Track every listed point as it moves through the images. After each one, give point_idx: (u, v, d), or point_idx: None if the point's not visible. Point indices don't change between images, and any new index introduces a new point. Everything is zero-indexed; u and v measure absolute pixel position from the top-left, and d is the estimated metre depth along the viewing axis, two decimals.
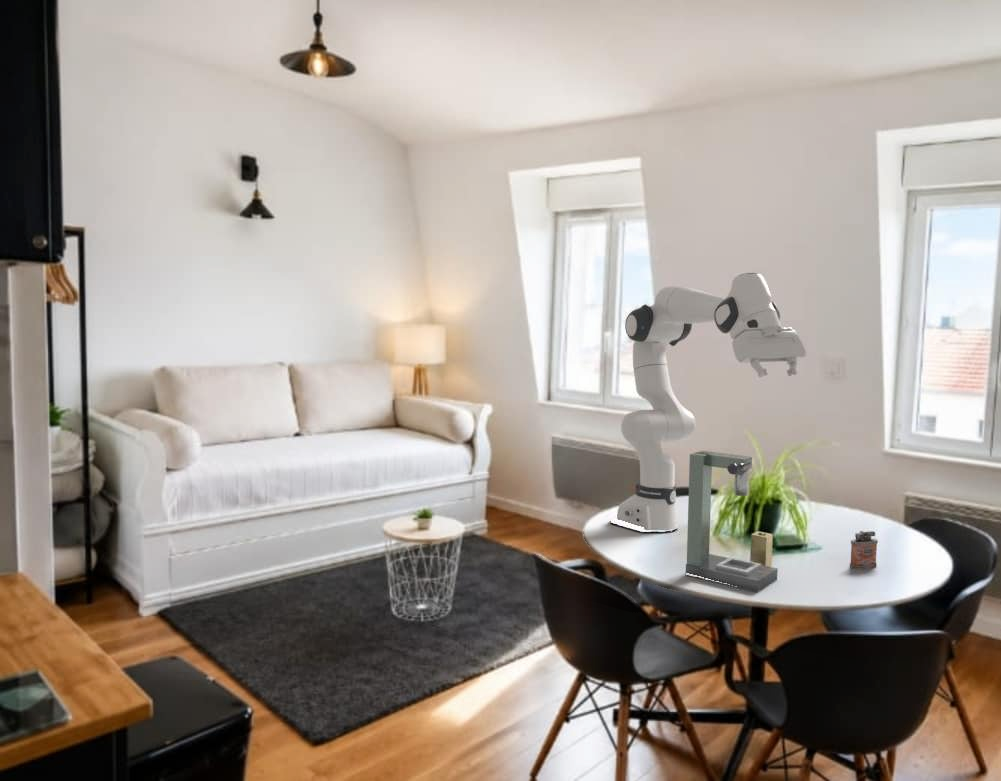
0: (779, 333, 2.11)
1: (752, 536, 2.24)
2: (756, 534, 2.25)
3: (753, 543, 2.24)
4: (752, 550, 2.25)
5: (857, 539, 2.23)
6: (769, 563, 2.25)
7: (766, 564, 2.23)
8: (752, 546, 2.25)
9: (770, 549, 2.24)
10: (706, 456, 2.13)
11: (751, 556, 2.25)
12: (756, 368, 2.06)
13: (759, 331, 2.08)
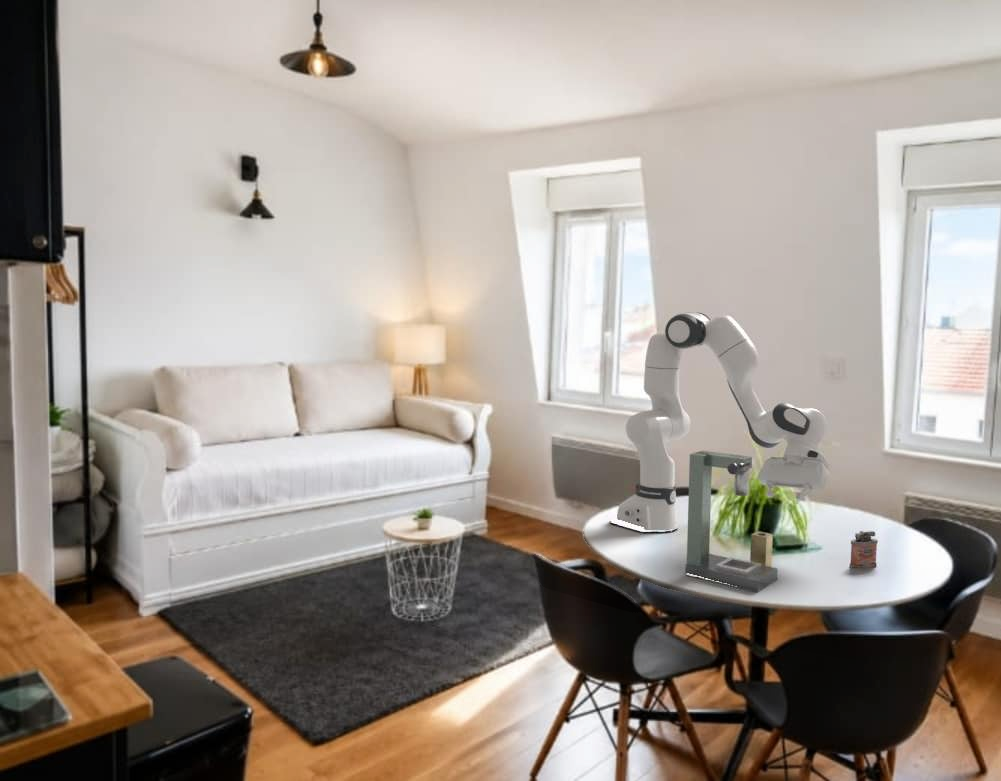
0: None
1: (752, 536, 2.24)
2: (756, 534, 2.25)
3: (753, 543, 2.24)
4: (752, 550, 2.25)
5: (857, 539, 2.23)
6: (769, 563, 2.25)
7: (766, 564, 2.23)
8: (752, 546, 2.25)
9: (770, 549, 2.24)
10: (706, 456, 2.13)
11: (751, 556, 2.25)
12: (805, 492, 2.28)
13: None
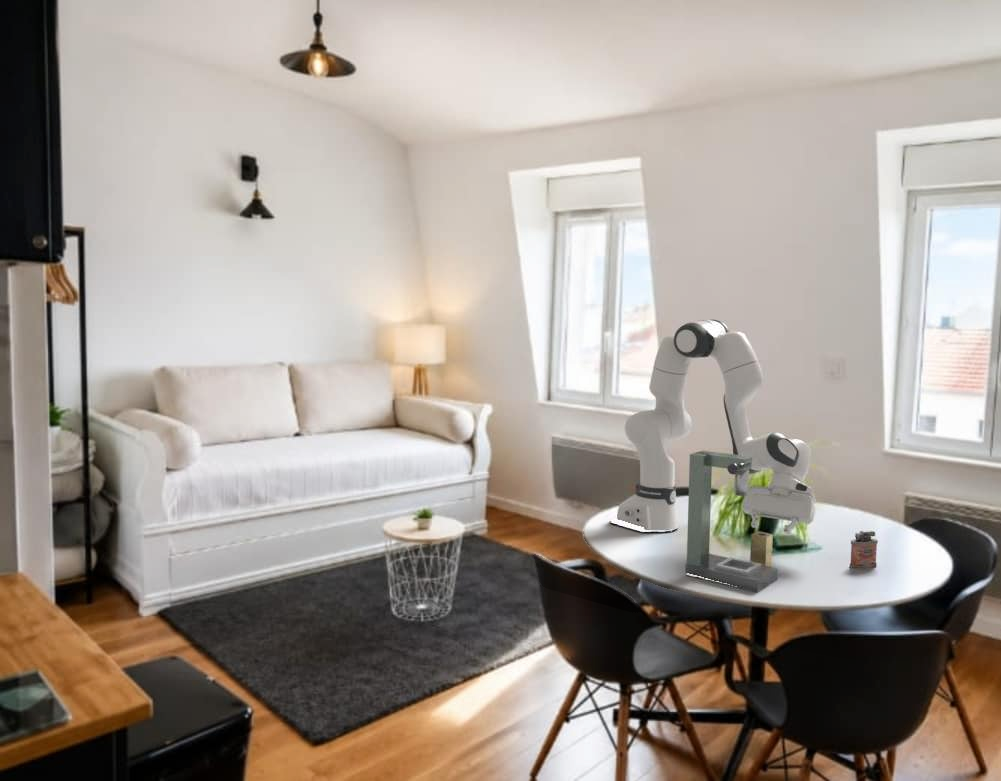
0: None
1: (752, 536, 2.24)
2: (756, 534, 2.25)
3: (753, 543, 2.24)
4: (752, 550, 2.25)
5: (857, 539, 2.23)
6: (769, 563, 2.25)
7: (766, 564, 2.23)
8: (752, 546, 2.25)
9: (770, 549, 2.24)
10: (706, 456, 2.13)
11: (751, 556, 2.25)
12: (792, 525, 2.26)
13: None
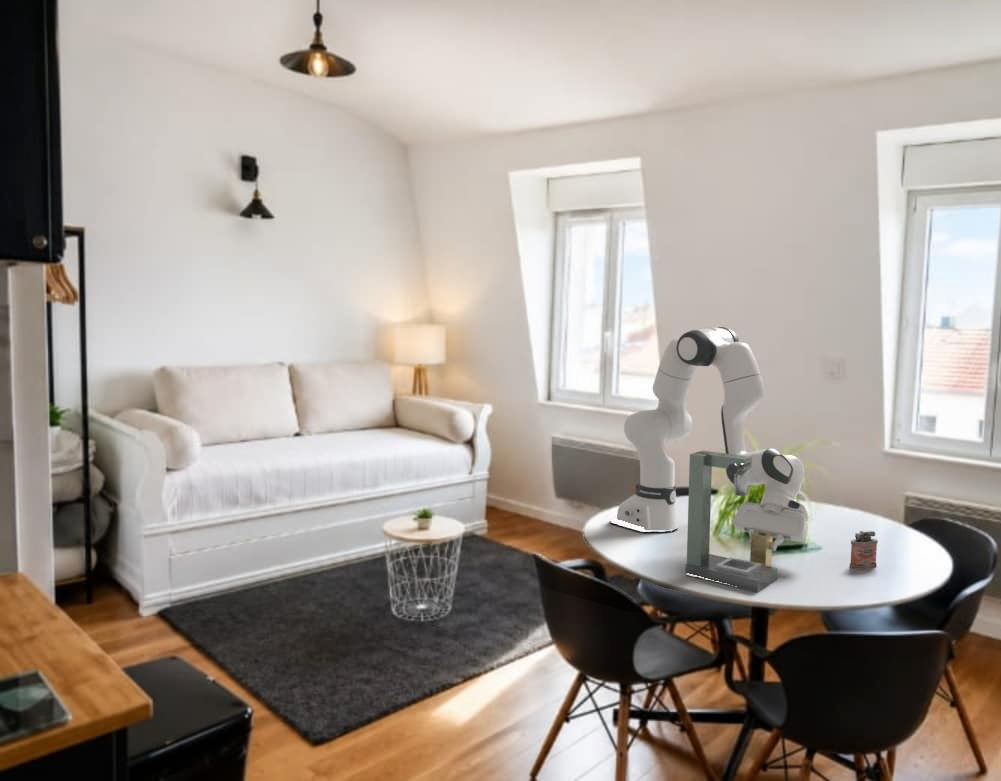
0: None
1: (752, 536, 2.24)
2: (756, 534, 2.25)
3: (753, 543, 2.24)
4: (752, 550, 2.25)
5: (857, 539, 2.23)
6: (769, 563, 2.25)
7: (766, 564, 2.23)
8: (752, 546, 2.25)
9: None
10: (706, 456, 2.13)
11: (751, 556, 2.25)
12: (778, 542, 2.24)
13: None
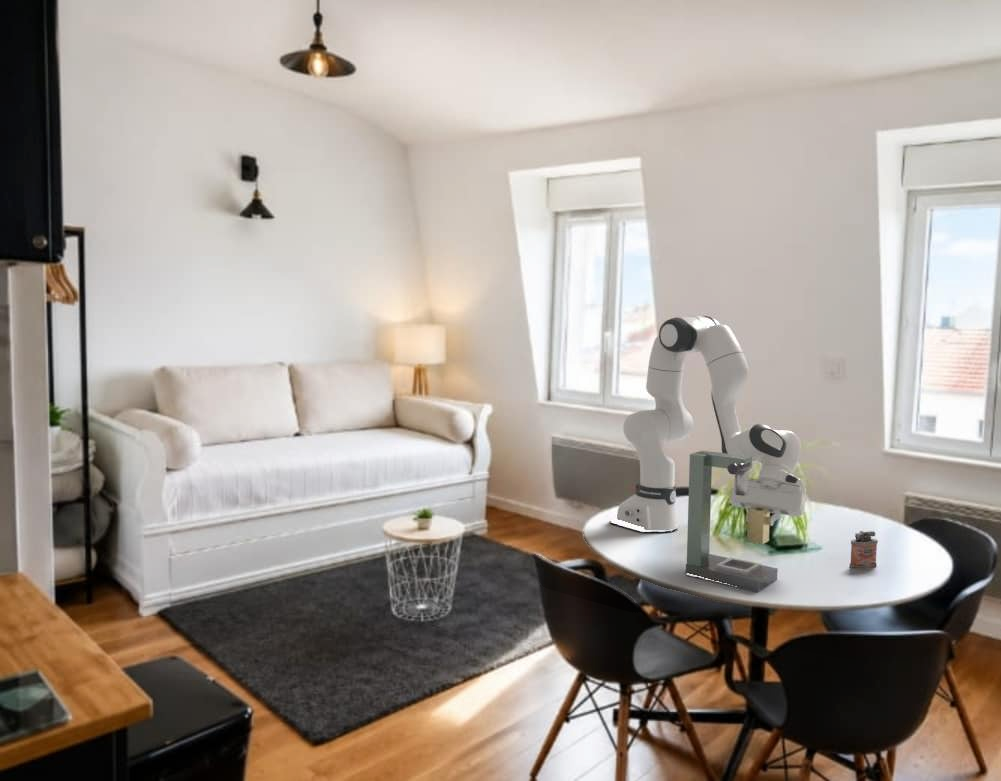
0: None
1: (749, 511, 2.21)
2: (753, 509, 2.21)
3: (750, 518, 2.21)
4: (749, 525, 2.21)
5: (857, 539, 2.23)
6: (766, 538, 2.21)
7: (763, 539, 2.20)
8: (749, 521, 2.21)
9: None
10: (706, 456, 2.13)
11: (748, 531, 2.22)
12: (775, 517, 2.20)
13: None
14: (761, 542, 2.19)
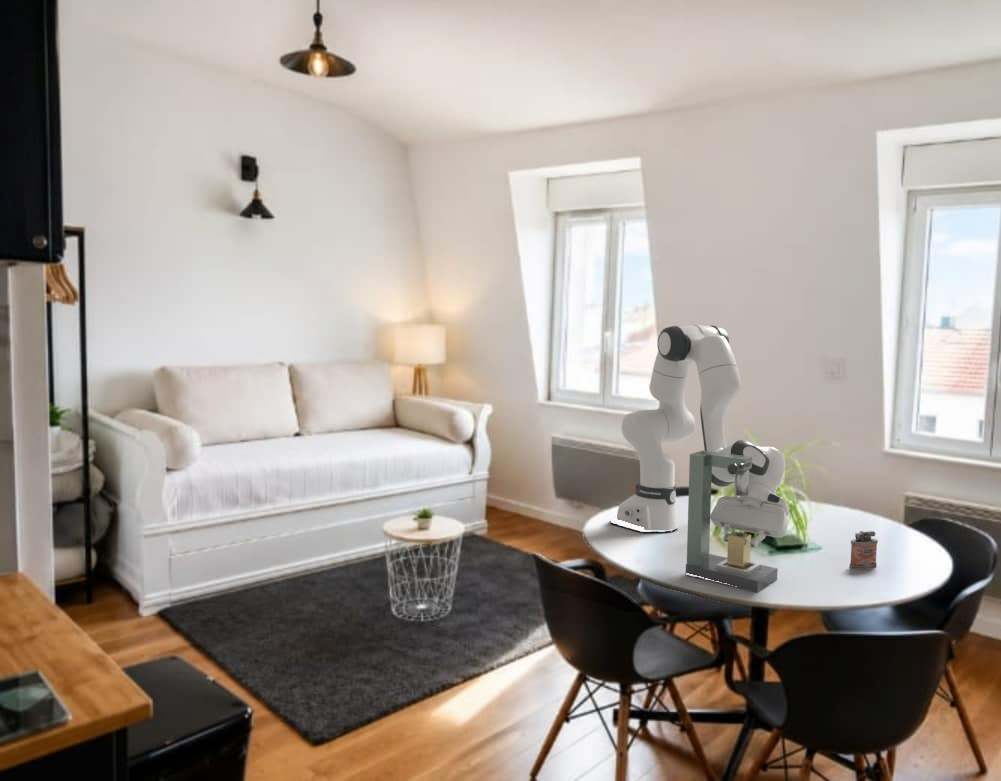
0: None
1: (729, 537, 2.13)
2: (733, 535, 2.13)
3: (730, 544, 2.13)
4: (729, 552, 2.13)
5: (857, 539, 2.23)
6: (747, 565, 2.13)
7: (744, 567, 2.11)
8: (729, 547, 2.13)
9: (748, 550, 2.13)
10: (706, 456, 2.13)
11: (728, 558, 2.13)
12: (759, 538, 2.11)
13: None
14: None
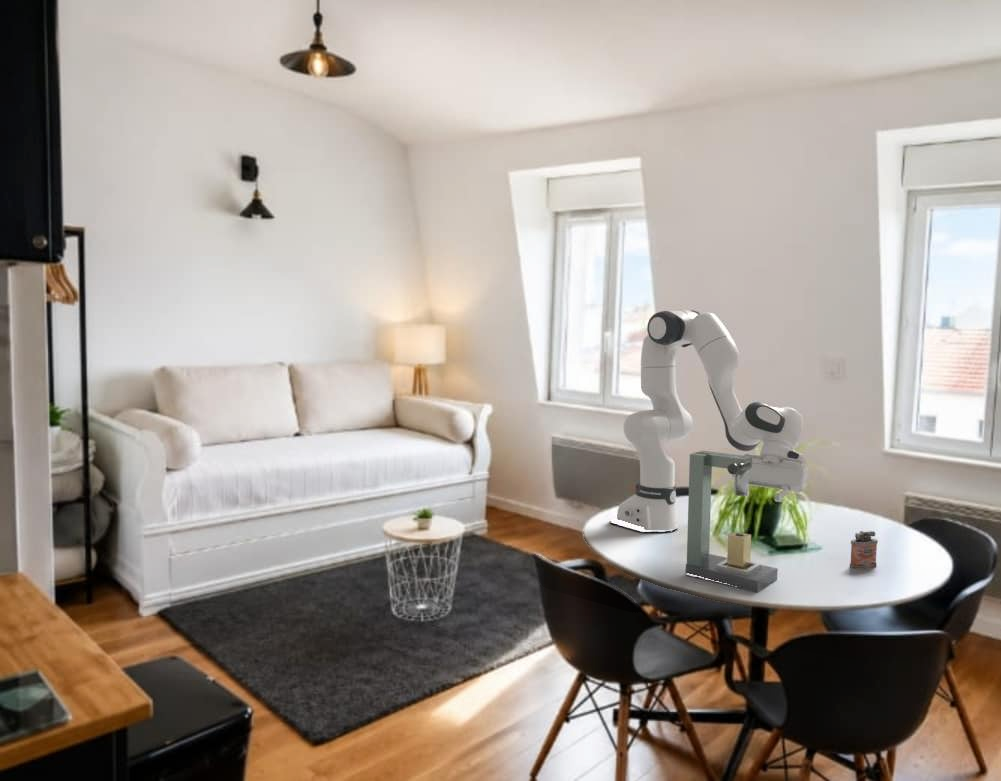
0: None
1: (729, 537, 2.13)
2: (733, 535, 2.13)
3: (730, 544, 2.13)
4: (729, 551, 2.13)
5: (857, 539, 2.23)
6: (747, 565, 2.13)
7: (744, 567, 2.11)
8: (729, 547, 2.13)
9: (748, 550, 2.13)
10: (706, 456, 2.13)
11: (728, 558, 2.13)
12: (783, 493, 2.19)
13: None
14: None
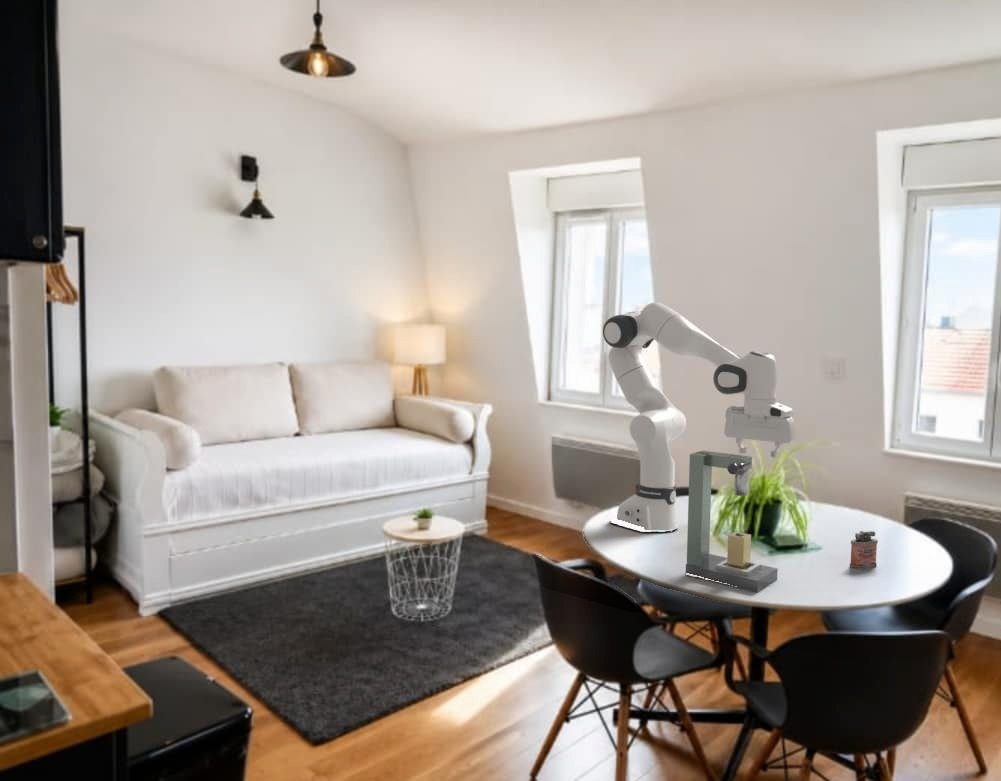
0: None
1: (729, 537, 2.13)
2: (733, 535, 2.13)
3: (730, 544, 2.13)
4: (729, 551, 2.13)
5: (857, 539, 2.23)
6: (747, 565, 2.13)
7: (744, 567, 2.11)
8: (729, 547, 2.13)
9: (748, 550, 2.13)
10: (706, 456, 2.13)
11: (728, 558, 2.13)
12: (778, 449, 2.30)
13: None
14: None
